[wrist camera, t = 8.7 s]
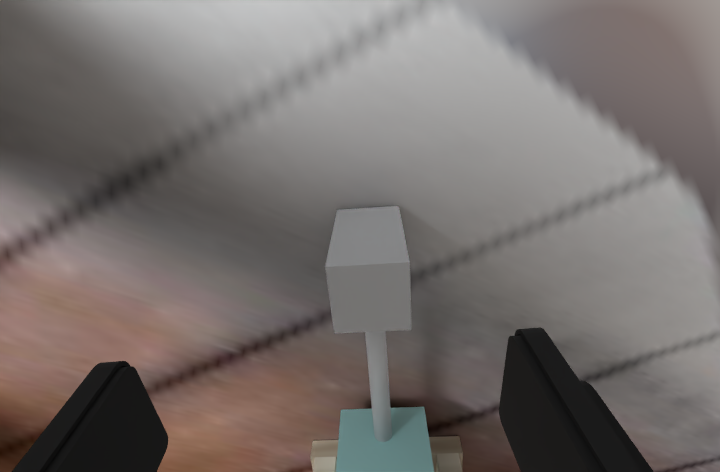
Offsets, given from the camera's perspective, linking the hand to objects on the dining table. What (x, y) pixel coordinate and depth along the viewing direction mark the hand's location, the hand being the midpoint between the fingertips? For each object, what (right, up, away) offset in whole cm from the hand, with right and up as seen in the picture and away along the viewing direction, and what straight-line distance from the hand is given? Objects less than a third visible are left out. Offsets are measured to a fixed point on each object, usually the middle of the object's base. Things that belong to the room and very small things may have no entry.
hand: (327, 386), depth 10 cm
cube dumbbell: (+2, -3, +12) cm, 13 cm away
